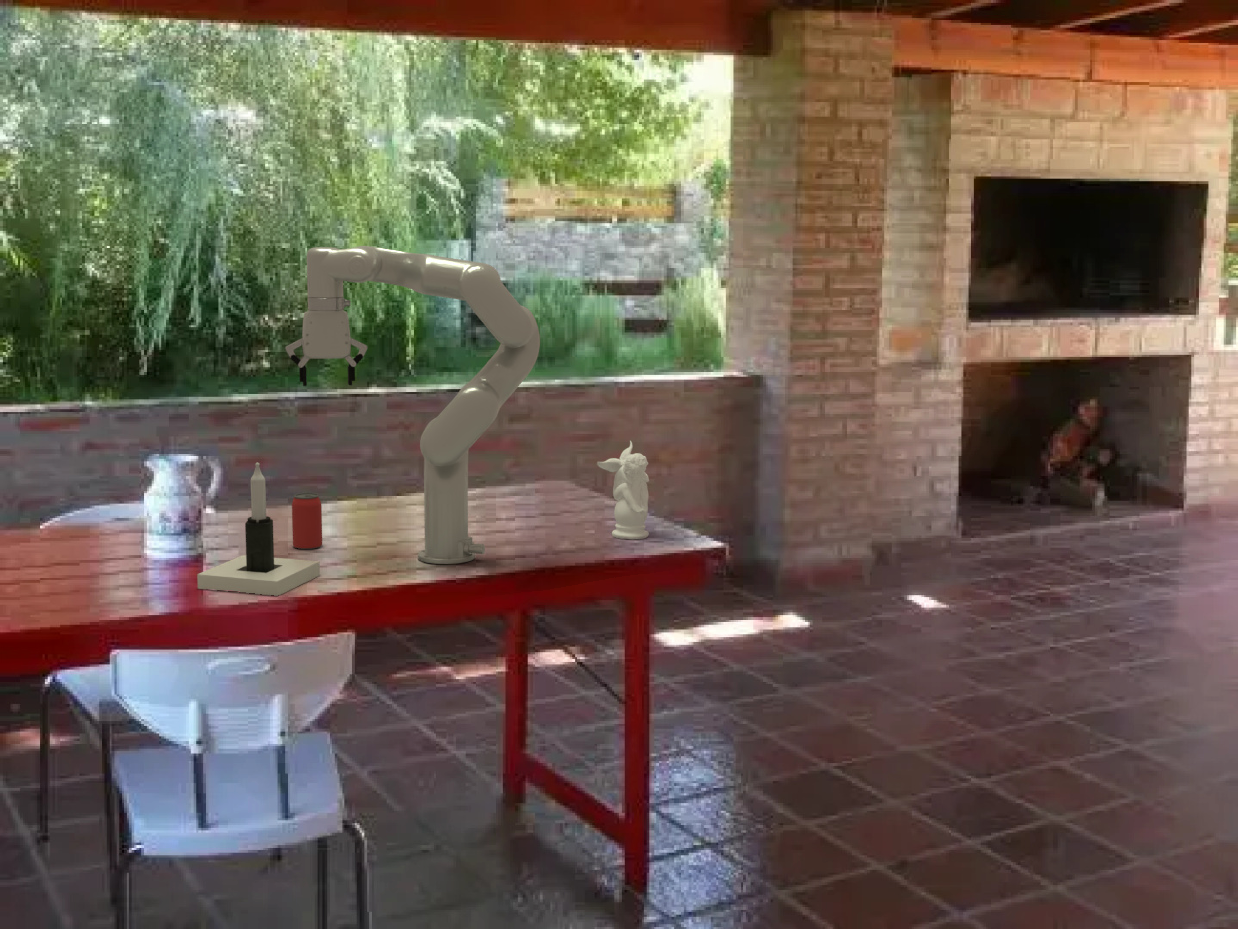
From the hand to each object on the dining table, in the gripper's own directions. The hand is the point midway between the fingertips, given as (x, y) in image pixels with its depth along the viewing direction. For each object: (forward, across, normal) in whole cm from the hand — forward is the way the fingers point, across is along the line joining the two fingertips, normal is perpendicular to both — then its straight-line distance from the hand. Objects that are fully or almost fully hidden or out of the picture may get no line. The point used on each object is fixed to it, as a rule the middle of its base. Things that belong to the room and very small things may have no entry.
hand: (327, 384), depth 338 cm
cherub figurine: (+38, -68, -10) cm, 79 cm away
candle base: (+38, +16, +19) cm, 45 cm away
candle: (+38, +15, +19) cm, 45 cm away
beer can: (+38, +5, -12) cm, 41 cm away
